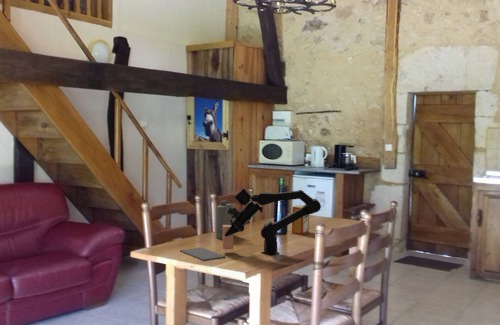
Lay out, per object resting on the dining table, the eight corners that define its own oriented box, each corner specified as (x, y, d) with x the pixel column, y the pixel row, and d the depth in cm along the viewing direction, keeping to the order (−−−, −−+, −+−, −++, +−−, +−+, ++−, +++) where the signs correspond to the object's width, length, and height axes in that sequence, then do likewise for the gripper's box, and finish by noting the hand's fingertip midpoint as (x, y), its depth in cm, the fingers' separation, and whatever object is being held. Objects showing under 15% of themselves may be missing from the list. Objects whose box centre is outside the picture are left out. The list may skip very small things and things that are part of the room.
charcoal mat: (225, 257, 251) (225, 256, 251) (203, 260, 243) (203, 259, 243) (201, 248, 268) (201, 247, 268) (180, 251, 261) (180, 250, 261)
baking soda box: (298, 230, 319) (299, 204, 318) (308, 232, 315) (309, 205, 314) (291, 233, 310) (292, 206, 309) (302, 234, 307) (302, 207, 306)
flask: (223, 233, 307) (224, 199, 306) (233, 234, 305) (233, 199, 304) (213, 238, 293) (213, 202, 292) (223, 239, 291) (223, 202, 290)
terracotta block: (232, 247, 262) (233, 224, 262) (233, 249, 257) (233, 226, 257) (222, 247, 262) (222, 224, 261) (222, 249, 257) (223, 226, 256)
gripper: (235, 198, 268) (213, 219, 268) (237, 203, 249) (213, 226, 249) (251, 213, 269) (228, 235, 269) (254, 220, 250) (230, 243, 250)
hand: (225, 234), depth 259 cm, fingers closed on terracotta block, 5 cm apart
